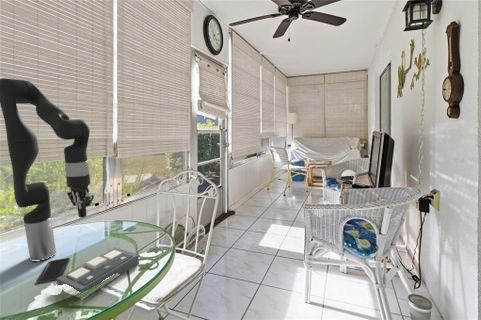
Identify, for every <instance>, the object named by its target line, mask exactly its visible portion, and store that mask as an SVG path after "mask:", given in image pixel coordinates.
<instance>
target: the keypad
mask: <svg viewBox="0 0 481 320" xmlns="http://www.w3.org/2000/svg"><path fill="white" fill-rule="evenodd" d="M113 250H116V251H119V252H122V255H121V256H119V257H118V258H116V259H114V260H112V261H110V260H107V264H105V265H104V266H102V267H100V268H98V269H97V270H92V269H90V268H87V264H86V263H87V262H84V263H83V264H80V266H77V267H76V268H73V269H72V270H70V271H68V272H65V273H64V274H63V275H62V276H60V277H58V278H57V280H56V284H57V286H58V285H63V284H67V285H69V286H71V287H73V288H74V289H76V290H77V291H79V292H83V291H86V290H89V289H91V288H92V287H94V286H96V285H98V284H100V283H101V282H102V281H103V280H105V279H106V278H108V277H110V276H112V275H113V274H116V273H118V274H120V276H119V277H121V276H122V275H123V274H125V273H127V272H128V271H130V270H131V269H133V268H134V267H136V266H138V265H139V264H140V260H139V258H140V257H139V254H137V253H135V252H131V251H127V250H124V249H121V248H118V247H114V248H112V249H110V250H107V251H105V252H104V253H102V254H100V255H98V256H99V257H102V258H103V256H104V255H106V254H107V253H109V252H111V251H113ZM81 267H82V268H84V269H87V270H90V274H88V275H86V276H84V277H83V278H81V279H79V280H77V281H74V280H72V279H70V278H68V274H70V273H72V272H74V271H76V270H77V269H79V268H81Z"/></svg>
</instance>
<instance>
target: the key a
mask: <svg viewBox="0 0 481 320" xmlns="http://www.w3.org/2000/svg"><path fill="white" fill-rule="evenodd" d="M88 274H90V270H87V269H84V268H82V267H81V268H79V269H77V270H76V271H74V272H72V273H70V274H68V278H70V279H72V280H74V281H77V280H79V279H81V278H83V277H84V276H86V275H88Z"/></svg>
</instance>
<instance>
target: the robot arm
mask: <svg viewBox="0 0 481 320" xmlns="http://www.w3.org/2000/svg"><path fill="white" fill-rule="evenodd" d="M17 104H20V105H22V104H23V105H24V104H25V105H26V104H28V105H29V104H30V105H32V106H35V112H36V115H37V116H38V118H39V119H41V120H42V121H43V122H44V123H46V124H47V125H49V126H50V127H51V129H52V130H53V132H54V134H55V135H56V136H57V137H58V138H60V139H61V140H66V141H67V140H69V141H70V140H73V143H72V144H70V145H67V146H66V147H64V149H63V155H64V161H65V162H64V163H65V165H64V166H65V167H64V170H65V179H66V186H67V187H68V188H70V191H68V192H67V193H66V194H67V195H66V196H68V198H69V200H70V201H71V204H72V206H74V207H75V208H76V209H77V215H78V218H85V217H87V207H90V206H91V204H92V202H93V200H94V197H95V195H94V194H90V189H89V186H90V185H91V175H90V165H89V162H88V161H89V160H88V155H87V149H88V144H89V138H90V130H91V129H90V127H89V124H88V123H87V122H86V121H85V120H83V119H70V116H69V114H68V113H67V112H65V111H64V110H63V109H61V108H60V107H59V106H57V105H55V104H54V103H53V102H51V101H50V100H49V99H48V98H47V97H46V95H44V94H43V92H42V91H40V89H39V88H38V87H37V86H36V85H34V84H33V83H32V82H31V81H28V80H25V79H14V78H4V77H2V78H0V108H1V112H2V115H3V119H4V120H3V121H4V126H5V131H6V141H7V148H8V153H9V157H10V158H9V159H10V162H11V169H12V178H13V180H12V181H13V191H14V193H13V194H14V200H15V203H16V205H17V207H18V208H27V207H33V206H36V207H35V208H33V209H32V210H30V211H29V212H27V213H26V214H24V215H23V224H24V225H23V226H24V229H25V230H24V232H25V237H26V243H27V248H28V255H29V260H30V259H31V260H42V259H47V258H48V257H50V256H52V255H54V254H55V253H56V254H57V250H56V249H57V248H56V243H55V235H54V229H53V228H54V227H53V221H52V214H51V212H52V211H51V203H50V202H51V201H50V199H51V198H50V190H49V187H48V185H47V183H46V182H44V181H39V182H38V181H37V182H33V183H28V184H26V182H27V176H28V173H29V170H30V169H31V167H32V166H33V164H34V162H35V161H36V159H37V157H38V154H39V145H38V138H37V135H36V134H35V132H34V130H33V129H32V128H30V126H29V125H28V124H27V123H26V122H25V121H24V119H23V118H22V116H21V115H20V112H19V109H18V105H17ZM56 254H55V255H56ZM55 255H54V256H55ZM47 260H48V259H47Z"/></svg>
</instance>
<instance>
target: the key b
mask: <svg viewBox="0 0 481 320" xmlns="http://www.w3.org/2000/svg"><path fill="white" fill-rule="evenodd" d="M99 256H100V255H98V256H96V257H94V258H93V259H91V260H89V261H86V262H85V263H86V264H87V268H90V269H92V270H97V269H98V268H100V267H102V266H104V265H105V264H107V259H105V258H102V257H99Z"/></svg>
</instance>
